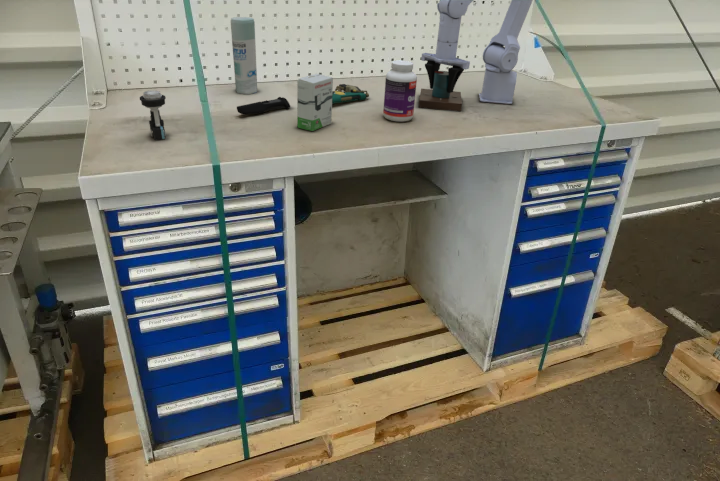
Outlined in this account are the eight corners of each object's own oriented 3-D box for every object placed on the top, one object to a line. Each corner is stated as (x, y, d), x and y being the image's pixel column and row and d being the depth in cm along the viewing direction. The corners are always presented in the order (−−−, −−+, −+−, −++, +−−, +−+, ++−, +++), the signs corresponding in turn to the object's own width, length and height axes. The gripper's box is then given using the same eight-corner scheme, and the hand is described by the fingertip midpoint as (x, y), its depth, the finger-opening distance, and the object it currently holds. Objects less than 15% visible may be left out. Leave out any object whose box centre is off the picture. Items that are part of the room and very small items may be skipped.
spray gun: (353, 92, 162) (376, 108, 151) (303, 93, 155) (322, 109, 144) (355, 78, 160) (378, 93, 149) (304, 78, 153) (324, 94, 142)
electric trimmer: (234, 116, 136) (233, 104, 134) (283, 105, 145) (282, 94, 143) (242, 120, 133) (241, 107, 132) (291, 109, 143) (291, 97, 141)
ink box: (312, 132, 127) (312, 82, 121) (296, 127, 130) (295, 79, 123) (332, 123, 134) (333, 75, 128) (317, 119, 136) (317, 72, 130)
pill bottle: (411, 124, 136) (416, 67, 129) (380, 121, 137) (384, 64, 130) (414, 115, 143) (420, 60, 136) (385, 112, 144) (389, 58, 137)
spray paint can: (262, 91, 156) (259, 19, 146) (247, 95, 152) (242, 21, 141) (246, 87, 159) (241, 16, 149) (230, 91, 155) (225, 18, 144)
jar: (449, 94, 155) (452, 70, 152) (449, 98, 151) (453, 74, 147) (431, 92, 156) (434, 69, 152) (431, 97, 151) (434, 73, 148)
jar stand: (420, 95, 160) (421, 87, 159) (459, 99, 159) (460, 91, 158) (418, 107, 149) (419, 99, 148) (460, 111, 148) (462, 103, 147)
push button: (143, 132, 122) (135, 89, 116) (166, 129, 124) (160, 87, 119) (148, 141, 117) (141, 97, 112) (173, 138, 119) (167, 94, 114)
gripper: (417, 38, 146) (412, 87, 153) (463, 46, 139) (456, 97, 146) (430, 35, 151) (425, 83, 158) (476, 43, 144) (468, 93, 151)
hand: (441, 90), depth 152 cm, fingers closed on jar, 5 cm apart
